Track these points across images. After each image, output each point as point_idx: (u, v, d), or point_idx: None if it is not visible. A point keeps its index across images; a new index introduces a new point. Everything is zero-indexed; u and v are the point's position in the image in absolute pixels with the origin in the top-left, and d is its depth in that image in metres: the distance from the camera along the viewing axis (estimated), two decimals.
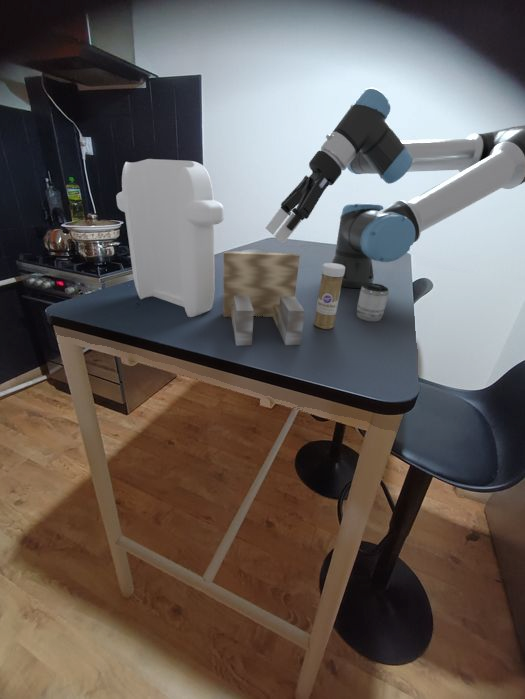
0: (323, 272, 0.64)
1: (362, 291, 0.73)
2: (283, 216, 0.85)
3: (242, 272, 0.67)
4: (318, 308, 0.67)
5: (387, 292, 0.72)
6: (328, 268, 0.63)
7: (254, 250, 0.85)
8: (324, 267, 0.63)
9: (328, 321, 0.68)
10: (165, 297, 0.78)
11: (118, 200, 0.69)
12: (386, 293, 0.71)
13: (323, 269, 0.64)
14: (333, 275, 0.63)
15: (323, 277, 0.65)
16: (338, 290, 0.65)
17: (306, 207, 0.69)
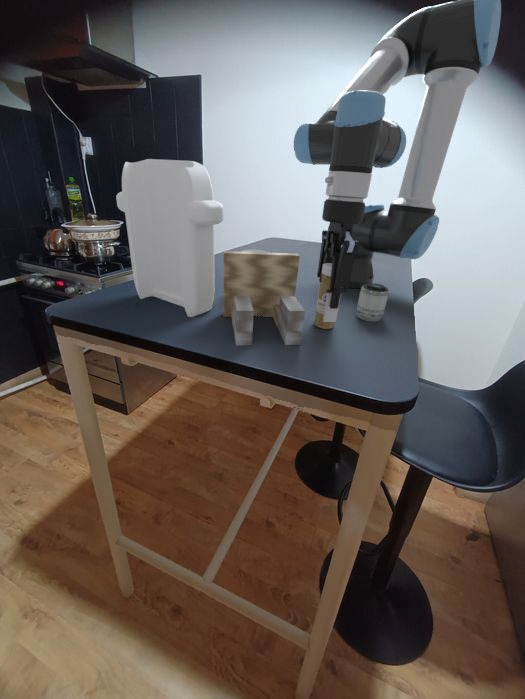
0: (323, 272, 0.64)
1: (362, 291, 0.73)
2: None
3: (242, 272, 0.67)
4: (318, 308, 0.67)
5: (387, 292, 0.72)
6: (328, 268, 0.63)
7: (254, 250, 0.85)
8: (324, 267, 0.63)
9: None
10: (165, 297, 0.78)
11: (118, 200, 0.69)
12: (386, 293, 0.71)
13: (323, 269, 0.64)
14: None
15: (323, 277, 0.65)
16: None
17: (341, 285, 0.60)
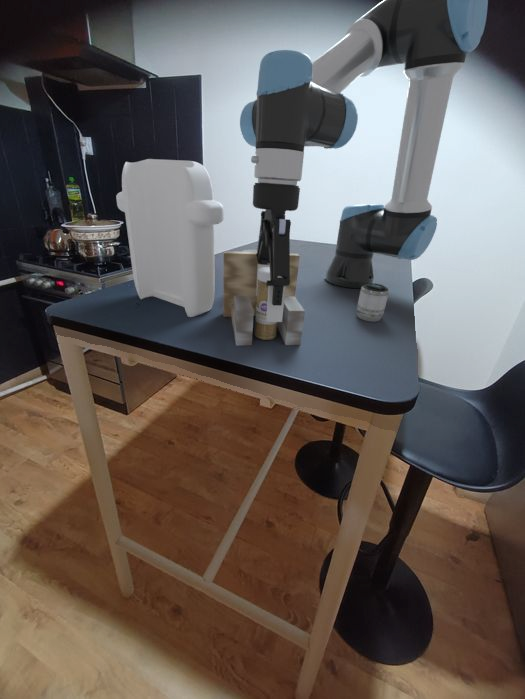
0: (258, 277, 0.57)
1: (362, 291, 0.73)
2: None
3: (242, 272, 0.67)
4: (256, 317, 0.61)
5: (387, 292, 0.72)
6: (262, 273, 0.56)
7: (254, 250, 0.85)
8: (259, 272, 0.57)
9: (268, 332, 0.61)
10: (165, 297, 0.78)
11: (118, 200, 0.69)
12: (386, 293, 0.71)
13: (258, 274, 0.57)
14: None
15: (259, 283, 0.58)
16: None
17: (280, 273, 0.48)
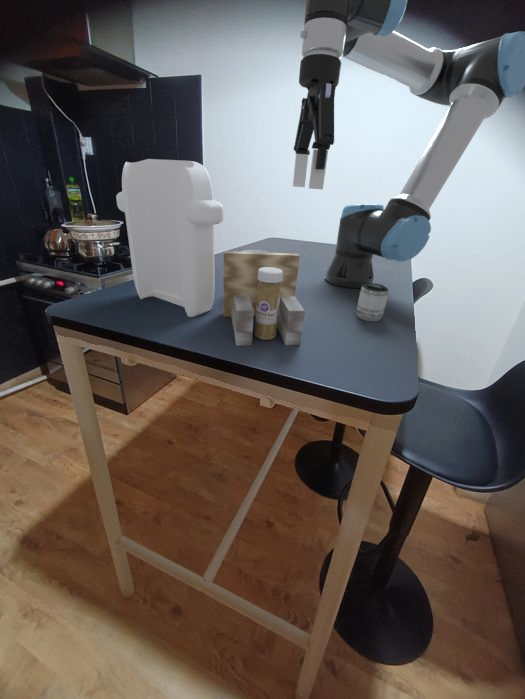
0: (258, 277, 0.57)
1: (362, 291, 0.73)
2: (304, 160, 0.71)
3: (242, 272, 0.67)
4: (256, 317, 0.61)
5: (387, 292, 0.72)
6: (262, 273, 0.56)
7: (254, 250, 0.85)
8: (259, 272, 0.57)
9: (268, 332, 0.61)
10: (165, 297, 0.78)
11: (118, 200, 0.69)
12: (386, 293, 0.71)
13: (258, 274, 0.57)
14: (268, 281, 0.56)
15: (259, 283, 0.58)
16: (276, 297, 0.59)
17: (326, 131, 0.56)
